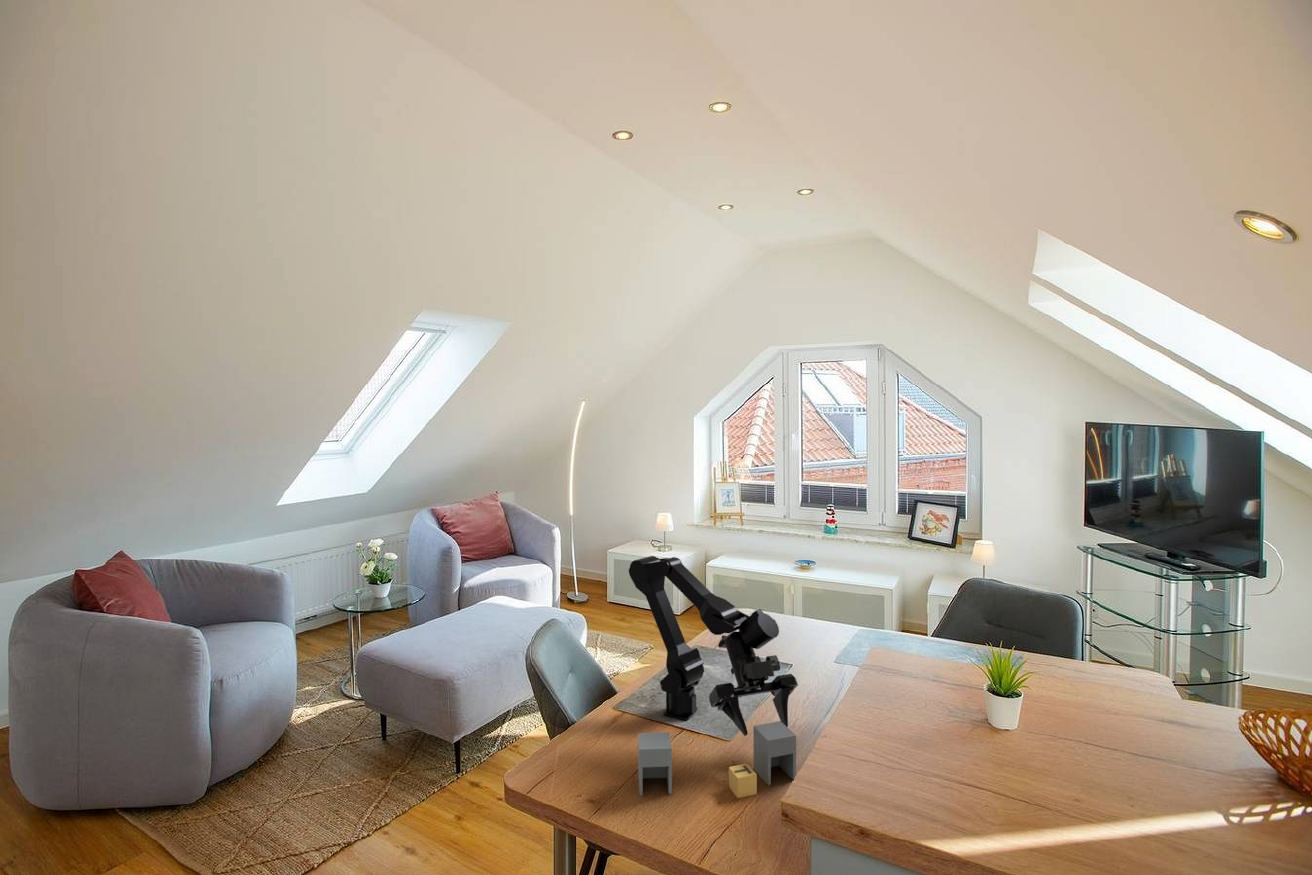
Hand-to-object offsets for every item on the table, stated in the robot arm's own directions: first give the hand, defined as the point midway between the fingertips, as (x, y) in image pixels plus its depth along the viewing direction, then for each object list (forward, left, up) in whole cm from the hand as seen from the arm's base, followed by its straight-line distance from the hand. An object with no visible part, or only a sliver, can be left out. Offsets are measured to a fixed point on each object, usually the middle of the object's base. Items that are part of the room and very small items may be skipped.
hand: (766, 731), depth 133 cm
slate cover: (-18, -16, -7) cm, 25 cm away
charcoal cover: (+2, -2, -7) cm, 8 cm away
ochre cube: (-2, -10, -7) cm, 13 cm away
